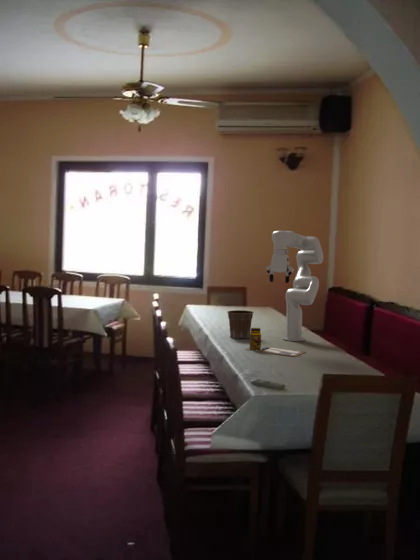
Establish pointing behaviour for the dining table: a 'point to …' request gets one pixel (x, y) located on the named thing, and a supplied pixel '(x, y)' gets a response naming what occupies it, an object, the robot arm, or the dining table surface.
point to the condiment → (255, 339)
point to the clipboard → (281, 351)
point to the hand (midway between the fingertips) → (279, 282)
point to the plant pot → (240, 323)
